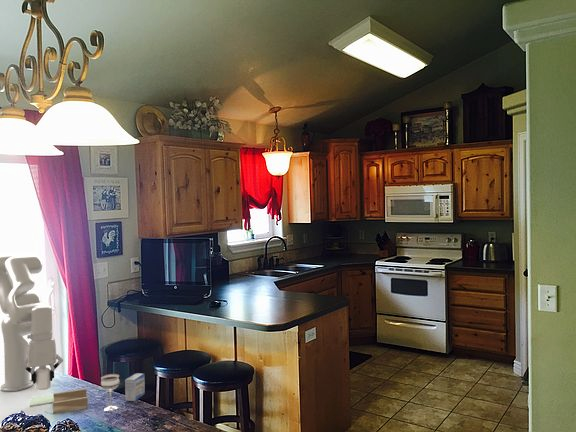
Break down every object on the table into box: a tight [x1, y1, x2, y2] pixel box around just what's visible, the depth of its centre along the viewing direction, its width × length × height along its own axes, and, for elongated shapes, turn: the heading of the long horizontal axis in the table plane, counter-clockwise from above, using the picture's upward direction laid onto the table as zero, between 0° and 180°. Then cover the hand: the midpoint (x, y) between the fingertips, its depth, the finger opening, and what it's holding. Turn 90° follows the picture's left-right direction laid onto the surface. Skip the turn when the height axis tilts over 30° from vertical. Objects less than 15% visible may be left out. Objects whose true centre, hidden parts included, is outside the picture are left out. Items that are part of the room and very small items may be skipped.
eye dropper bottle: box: [34, 365, 52, 391], centre depth 191 cm, size 4×6×12 cm
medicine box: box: [124, 372, 146, 402], centre depth 193 cm, size 8×4×9 cm, turn 168°
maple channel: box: [52, 388, 89, 415], centre depth 185 cm, size 11×12×4 cm
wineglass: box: [100, 373, 120, 412], centre depth 182 cm, size 7×7×12 cm
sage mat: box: [29, 393, 54, 408], centre depth 191 cm, size 9×9×1 cm
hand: (43, 381), depth 191 cm, fingers closed on eye dropper bottle, 5 cm apart
